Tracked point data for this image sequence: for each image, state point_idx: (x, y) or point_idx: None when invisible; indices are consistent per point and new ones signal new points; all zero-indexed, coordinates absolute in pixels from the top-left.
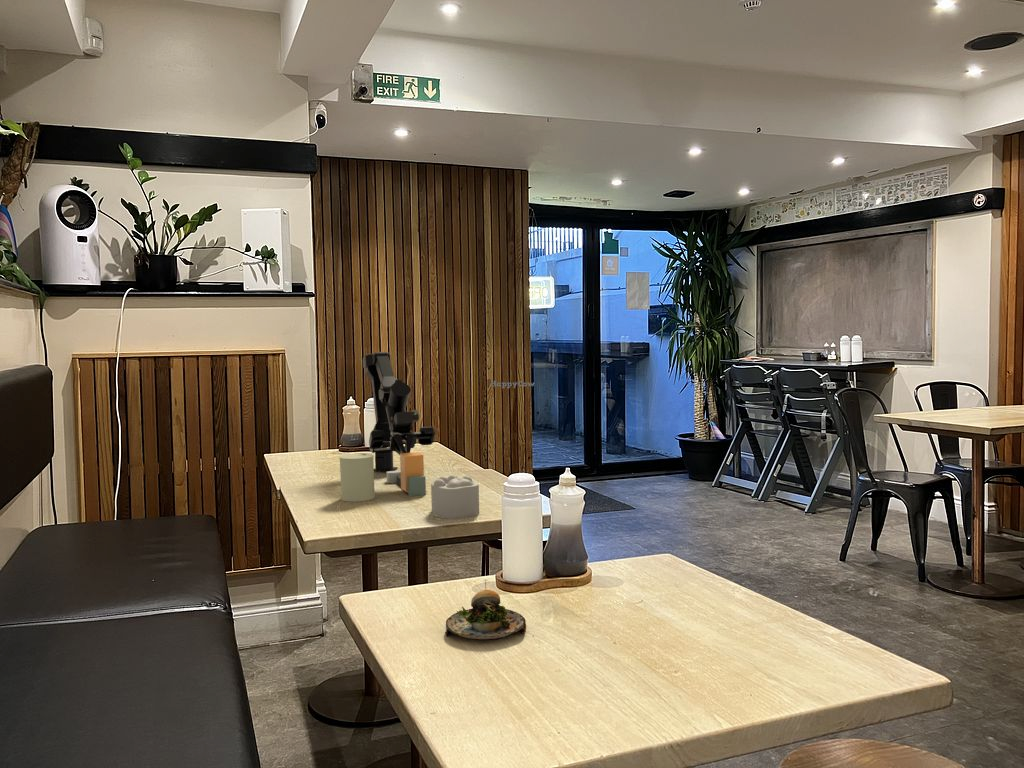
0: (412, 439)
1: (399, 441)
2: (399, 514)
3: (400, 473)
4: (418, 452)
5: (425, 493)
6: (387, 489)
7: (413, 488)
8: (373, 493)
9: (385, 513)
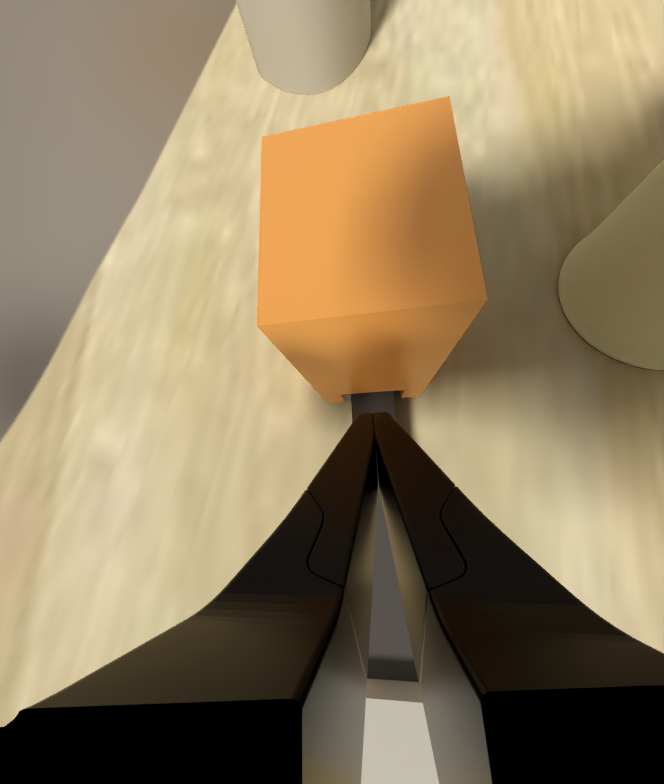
0: (140, 647)
1: (577, 653)
2: (469, 28)
3: (392, 691)
4: (260, 293)
5: None
6: (486, 454)
7: None
8: (581, 248)
9: (516, 41)
